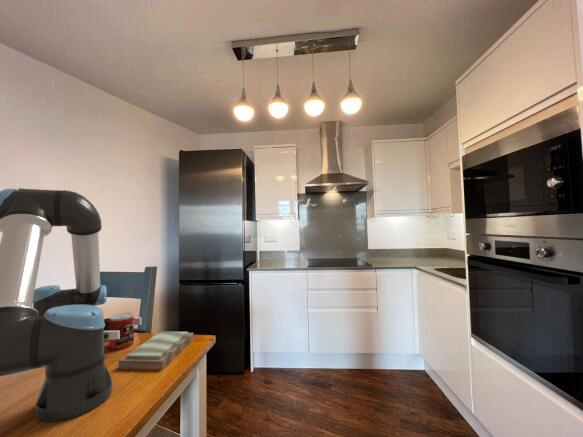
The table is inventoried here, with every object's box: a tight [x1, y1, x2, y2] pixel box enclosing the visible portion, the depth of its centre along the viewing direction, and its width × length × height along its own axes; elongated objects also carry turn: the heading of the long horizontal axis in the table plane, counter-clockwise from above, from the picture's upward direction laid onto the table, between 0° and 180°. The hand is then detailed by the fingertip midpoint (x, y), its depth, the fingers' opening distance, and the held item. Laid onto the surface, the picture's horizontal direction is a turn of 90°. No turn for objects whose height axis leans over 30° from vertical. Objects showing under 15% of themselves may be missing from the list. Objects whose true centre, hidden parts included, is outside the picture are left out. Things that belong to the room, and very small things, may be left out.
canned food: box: [108, 311, 135, 351], centre depth 101 cm, size 8×8×11 cm
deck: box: [118, 331, 195, 371], centre depth 94 cm, size 22×14×4 cm, turn 176°
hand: (130, 327), depth 101 cm, fingers open, 13 cm apart
